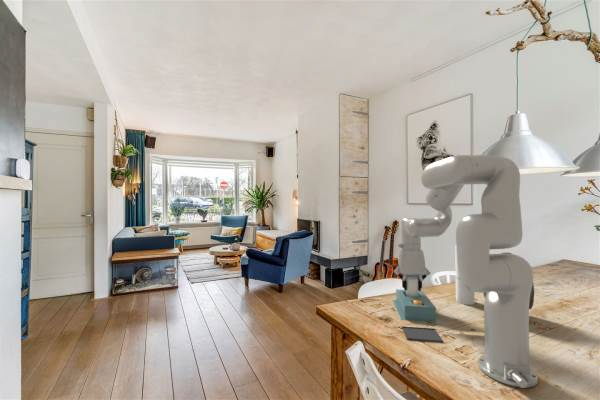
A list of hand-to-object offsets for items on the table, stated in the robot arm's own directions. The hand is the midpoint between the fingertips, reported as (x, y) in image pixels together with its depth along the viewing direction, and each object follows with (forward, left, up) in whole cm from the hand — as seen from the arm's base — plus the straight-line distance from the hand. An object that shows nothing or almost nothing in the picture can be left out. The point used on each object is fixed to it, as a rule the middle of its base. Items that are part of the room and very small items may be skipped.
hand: (412, 289), depth 115 cm
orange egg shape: (-10, 0, -6) cm, 11 cm away
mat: (-22, +2, -8) cm, 23 cm away
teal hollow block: (-4, 0, -8) cm, 9 cm away
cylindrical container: (+11, -25, -8) cm, 29 cm away
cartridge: (0, 0, -6) cm, 6 cm away
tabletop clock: (-2, -35, -8) cm, 36 cm away
